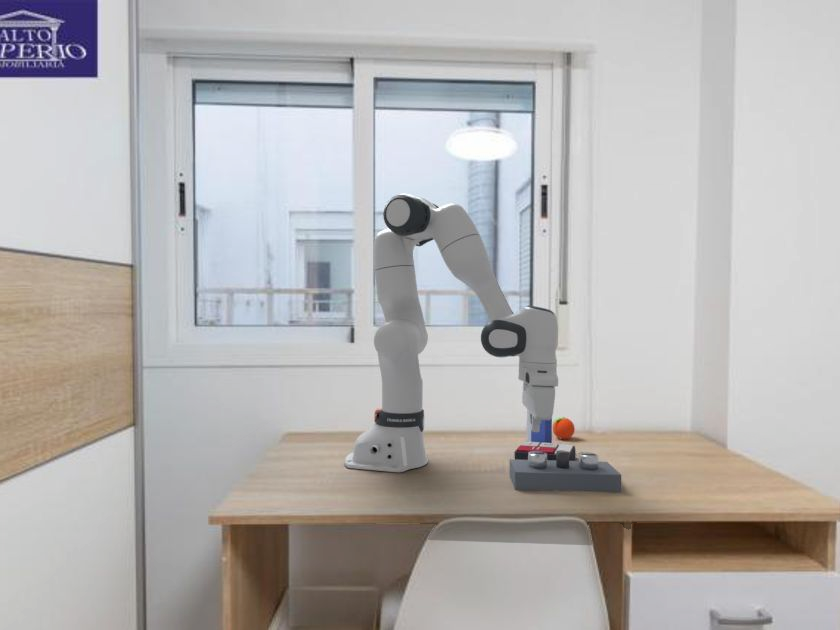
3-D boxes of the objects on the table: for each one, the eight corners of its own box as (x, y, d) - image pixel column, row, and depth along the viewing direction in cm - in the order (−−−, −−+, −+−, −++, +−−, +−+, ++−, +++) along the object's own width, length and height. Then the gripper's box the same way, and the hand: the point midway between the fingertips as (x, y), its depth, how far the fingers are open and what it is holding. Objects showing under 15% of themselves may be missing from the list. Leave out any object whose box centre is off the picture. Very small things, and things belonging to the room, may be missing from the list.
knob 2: (581, 486, 114) (581, 456, 114) (576, 480, 118) (576, 451, 118) (600, 487, 113) (600, 457, 113) (594, 480, 118) (594, 451, 118)
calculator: (522, 440, 144) (575, 443, 138) (523, 454, 144) (575, 458, 138) (513, 449, 134) (570, 452, 128) (514, 464, 134) (570, 469, 128)
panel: (515, 489, 112) (515, 472, 112) (509, 475, 122) (509, 459, 122) (621, 492, 110) (621, 474, 110) (606, 477, 120) (606, 461, 120)
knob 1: (529, 485, 114) (529, 455, 114) (526, 479, 119) (526, 450, 119) (548, 485, 114) (548, 455, 114) (544, 479, 118) (544, 450, 118)
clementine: (559, 442, 154) (559, 420, 154) (545, 437, 160) (545, 416, 160) (579, 440, 157) (579, 418, 157) (564, 435, 163) (564, 414, 163)
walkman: (551, 451, 143) (552, 411, 144) (545, 452, 142) (545, 412, 142) (532, 445, 150) (533, 406, 150) (526, 446, 149) (526, 407, 149)
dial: (557, 468, 115) (557, 453, 115) (555, 464, 118) (555, 449, 118) (570, 468, 114) (570, 453, 114) (567, 464, 118) (567, 449, 118)
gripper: (517, 367, 127) (515, 420, 127) (531, 378, 107) (528, 441, 107) (541, 369, 127) (539, 421, 127) (560, 380, 106) (557, 442, 107)
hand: (534, 430), depth 117 cm, fingers closed
